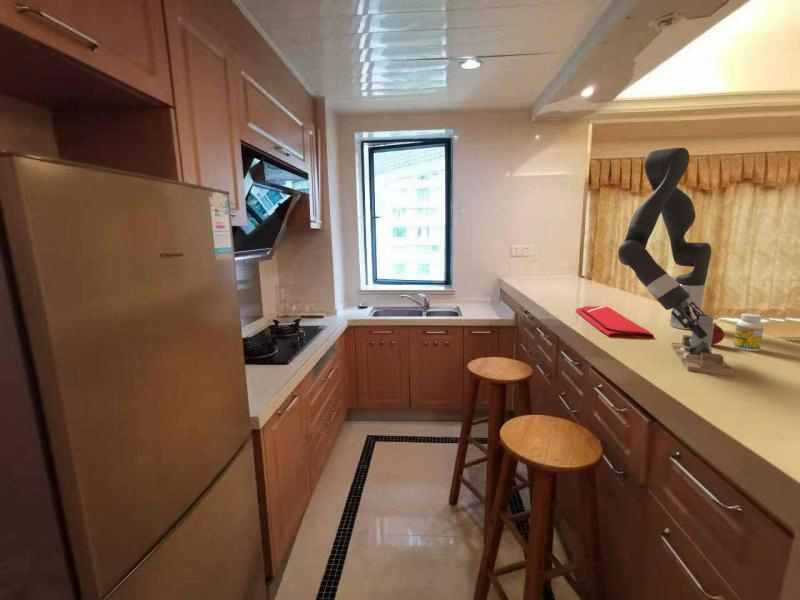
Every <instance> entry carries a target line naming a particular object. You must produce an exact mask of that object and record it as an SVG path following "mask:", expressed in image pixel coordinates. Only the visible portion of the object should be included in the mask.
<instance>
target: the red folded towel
mask: <svg viewBox="0 0 800 600" xmlns="http://www.w3.org/2000/svg"><path fill="white" fill-rule="evenodd" d="M575 312H576V314H578V316H580V317H581V318H582V319H584V320H585V321H586V322H588V323H589V324H590V325H591V326H593V327H594V328H595V329H596V330H598V331H599V330H600V331H599V332H600V333H602V332H603V333H602V334H604V336H606V335H607V336H606V337H608V338H621V337H635V338H634V339H654V338H655V335H654V334H653V333H651V332H650V331H649V330H648V329H646V328H645V327H643V326H641V325H639V324H637V323H635V322H634V321H632V320H630V319H629V318H627V317H626V316H624V315H622V314H621V313H619V312H618V311H616V310H614V309H613V308H611V307H609V306H601V305H600V306H599V305H598V306H595V305H594V306H589V305H588V306H582V307H578V308H576V309H575ZM636 337H638V338H636Z"/></svg>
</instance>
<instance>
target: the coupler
mask: <svg viewBox="0 0 800 600" xmlns="http://www.w3.org/2000/svg"><path fill="white" fill-rule="evenodd" d="M696 315H697V316H696V322H697V323H698V325H699V326H700V327H701V328H702V329H703V330H704V331H705V332H706V333H707V334H708V335H707V336H706V337H704V338H702V339H700V338H698V336H697V335H696V334H695V333H694V332H693V331H692V330H691V331H692V332H691V336H692V337H691V344H690V352H689V354H690V355H697V356H700V354H701V353H710V350H711V348H712V345H711V343H712V336H713V330H714V324H713V322H714V316H712V315H711V314H706V313H705V314H696Z"/></svg>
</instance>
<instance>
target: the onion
mask: <svg viewBox="0 0 800 600" xmlns="http://www.w3.org/2000/svg"><path fill="white" fill-rule="evenodd" d="M713 324H714V328H715V329H716V330H715V331H713V336H712V343H711V346H713V345H716V344H719V343H721V341H722V340H724V338H725V332H724V330H723V328H721V327H720V326H719V325H718V324H717V322H715V321H713Z"/></svg>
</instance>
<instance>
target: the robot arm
mask: <svg viewBox="0 0 800 600" xmlns="http://www.w3.org/2000/svg"><path fill="white" fill-rule="evenodd" d="M689 163H690V153H689V150H688V149H687V148H685V147H672V148H663V149H657V150H652V151H650V152H649V153H648V154H647V155H646V157H645V159H644V167H643V168H644V172H645V176H646V178H647V180H648V183H649V184H650V186H651V188H652V191H653V192H652V193H651V194H650V195H649V196H648V197H647V198H646V199H644V200H643V202H641V203H640V204H639V206H638V207H637V208H636V210H635V212H634V213H633V215H632V218H631V220H630V223H629V225H628V229H627V234H626V236H625V239H624V241H623V242H622V243H621V244H620V246H619V248H618V252H617V258H618V260H619V262H620V263H621V264H623V265H624V266H628V267H630V268H631V269H632V270H633V272H634V273H635V276H636V277H637V279H638V280H639V281H640V283H641V284H642V285H643V286H645V288H646V289H647V291H649V293H650V294H651V296H653V297H654V298H655V300H656V301H657V302H658V304H660V305H661V306H662V307H663V308H664V309H665V310H666V311H669V310H671V311H670V313H671V314H670V319H669V326H670V327H673V328H676V329H681V330H682V329H683V330H690V331H693V332H694V333H695V334H696V335H697V336H698V338H700V339H702V338H704V337H706V336H707V335H708V334H707V333H706V332H705V331H704V330H703V329H702V328H701V327H700V326H699V325H698V323H697V322H696V316H697V315H696V314H706V313H705V312H704V311H703V310H702V308H703V304H704V303H703V302H704V293H705V288H706V287H705V286H706V280H707V277H708V271H709V267H710V263H711V258H712V246H711V245H710V243H708V242H693V241H692V242H687V241H686V239H685V236H686V234H687V232H688V231H689V230H690V229H691V227H692V226H693V224H694V222H695V220H696V211H695V210H696V209H695V206H694V204H693V201H692V198H690V197H689V196H688V195H687V194H686V193H685V192H684V191H683V190H682V189H680V188H679V187H678V185H679V183H680V181H681V180H682V178H683V176H684V175H685V173H686V171H687V169H688V166H689ZM660 215H661V216H662V219H663V223H664V226H665V228H666V231H667V234H668V238H669V242H670V247H671V248H670V249H671V254H672V258H673V262H674V263H675V264H676V265H677V266H680V267H692V268H693V270H692V271H690V272H688V273H685V274H680V275H677V276H676V277H675V278H673V277H672V276H671V275H670V274H669V273H668V272H667V271H666V270H665V269H664V268H663V267H662V266H661V265H659V264H658V263H657V262H656V260H655V259H654V257H653V256H652V255H651V254H650V252H649V251H648V250H647V245H648V242H649V239H650V237H651V236H652V233H653V232H654V230H655V227H656V225H657V222H658V220H659V218H660ZM715 330H716V329H715V328H714V330H713V331H715Z"/></svg>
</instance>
